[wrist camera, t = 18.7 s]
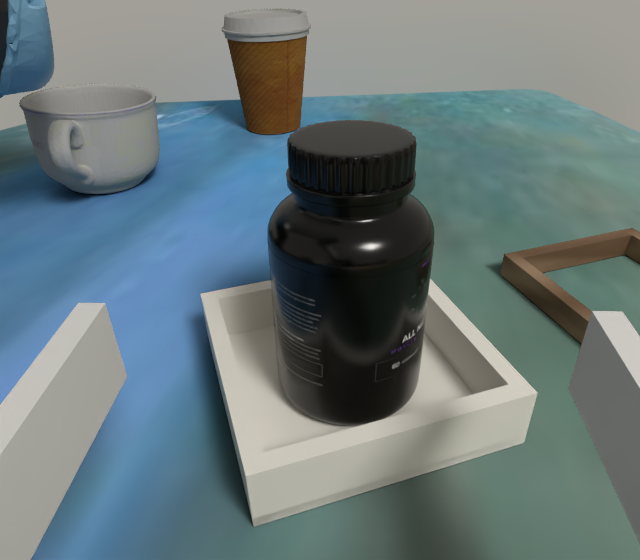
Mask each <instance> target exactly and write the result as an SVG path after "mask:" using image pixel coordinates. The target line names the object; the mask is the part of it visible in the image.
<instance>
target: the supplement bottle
mask: <svg viewBox="0 0 640 560" xmlns="http://www.w3.org/2000/svg"><path fill="white" fill-rule="evenodd" d="M287 147H288V166H289V168H288V170H287V173H286V177H287V186H288V188H289V190H290V191H291V192H292V194H290V195H289V196H287V197H286V198H285V199H284V200H282V201H281V202H280V204H279V205H278V206H277V207H276V209H275V210H274V212H273V214H272V216H271V218H270V221H269V224H268V253H269V266H270V279H271V292H272V305H273V318H274V331H275V344H276V357H277V366H278V376H279V381H280V385H281V387H282V390H283V392H284V393H285V395H286V397H287V398H288V399H289V400H290V401H291V403H292V404H293V405H294V406H296V407H297V408H298V409H299V410H301V411H302V412H304V413H305V414H307V415H309V416H311V417H313V418H315V419H317V420H320V421H323V422H327V423H331V424H337V425H363V424H368V423H371V422H375V421H378V420H382V419H385V418H387V417H389V416H391V415H393V414H394V413H396V412H397V411H399V410H400V409H401V408H402V407H403V406H404V405H405V404H407V402H408V401H409V400H410V399H411V397H412V396H413V394H414V392H415V390H416V387H417V384H418V379H419V372H420V364H421V356H422V347H423V338H424V329H425V320H426V310H427V301H428V292H429V283H430V274H431V265H432V256H433V246H434V226H433V222H432V219H431V217H430V215H429V213H428V211H427V210H426V208H425V207H424V205H423V204H422V203H421V202H420V201H419V200H418V199H417V198H415V197H414V196H413V195H411V194H410V193H411V192H412V190H413V189H414V187H415V178H416V172H415V170H414V169H415V158H416V138H415V136H413V135H412V133H411V132H408V130H406V129H403V128H401V127H399V126H394V125H392V124H386V123H382V122H374V121H362V120H345V121H330V122H324V123H317V124H314V125H308V126H306V127H303V128H300V129H299V130H297V131H294V133H293V134H291V135H290V137H289V138H288V142H287Z"/></svg>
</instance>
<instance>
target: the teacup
mask: <svg viewBox="0 0 640 560" xmlns="http://www.w3.org/2000/svg"><path fill="white" fill-rule="evenodd" d="M155 101H156V96H155V94H154V93H153V92H152V91H150V90H148V89H145V88H141V87H136V86H128V85H119V84H84V85H73V86H63V87H56V88H50V89H45V90H41V91H39V92H35V93H31V94H29V95H27V96H25V97H23V98H22V99H21V100H20V107H21V108H22V110H23V111H24V115H25V119H26V123H27V127H28V130H29V134H30V138H31V141H32V144H33V148H34V151H35V154H36V156H37V159H38V161H39V164H40V166H41V167H42V169H43V170H44V172H45V173H46V174H47V175H48V176H49V177H50V178H52V179H53V180H55V181H57V182H59V183H61V184H63V185H65V186H66V187H67V188H69V189H71V190H73V191H76V192H80V193H86V194H106V193H114V192H119V191H123V190H126V189H129V188H132V187H134V186H136V185H138V184H139V183H140V182H141V181H143V180H144V178H145V176H146V175H148V174H149V173H150V172H151V171H152V170H153V169H154V167H155V166H156V164H157V162H158V159H159V133H158V123H157V115H156V107H155Z"/></svg>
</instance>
